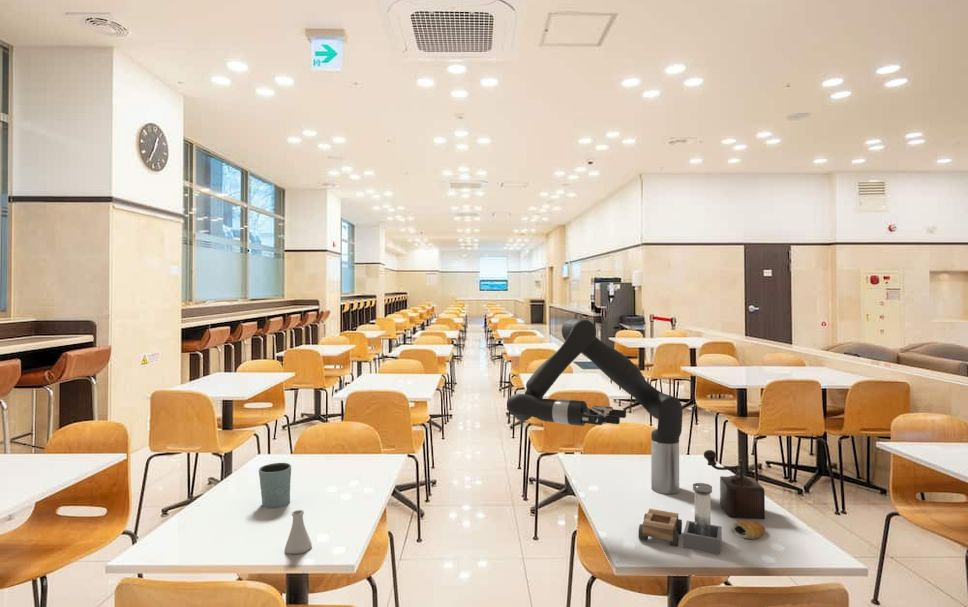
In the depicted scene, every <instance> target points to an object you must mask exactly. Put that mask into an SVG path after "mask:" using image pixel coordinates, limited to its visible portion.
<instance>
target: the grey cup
mask: <svg viewBox="0 0 968 607" xmlns="http://www.w3.org/2000/svg"><path fill="white" fill-rule="evenodd" d="M258 477H259V484H260V485H259V486H260V491H261V492H260V494H261V495H260V496H261V504H262V505H261V506H262V508H265V507H266V508H265V509H277V507H279V508H283V507H285V506H288V504H290V501H291V478H292V464H290V463H287V462H277V463H276V462H275V463H274V462H273V463H269V464H266V465H263V466H261V467H259V469H258Z"/></svg>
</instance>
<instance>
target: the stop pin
mask: <svg viewBox="0 0 968 607" xmlns="http://www.w3.org/2000/svg"><path fill="white" fill-rule="evenodd" d="M692 490H693V492H694V522H695V534H697V535H702V536H708V537H711V526H710V525H711V493H713V486H712V485H710V484H709V483H704V482H695V483H693V484H692Z"/></svg>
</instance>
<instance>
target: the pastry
mask: <svg viewBox="0 0 968 607" xmlns="http://www.w3.org/2000/svg"><path fill="white" fill-rule="evenodd" d="M730 530H731V532H732V534H734V535H736V536H738V537H740V538H741V537H742V538H744V539H747V540H756V539H759V538H761V537H762V536H763V535H765V531H766V528H765V526H764V525H763V524H761V523H759V522H758V521H753V520H748V519H740V520H736V521H735V522H734V523H733V525H732V526H731V527H730Z"/></svg>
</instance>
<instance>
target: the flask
mask: <svg viewBox="0 0 968 607" xmlns="http://www.w3.org/2000/svg"><path fill="white" fill-rule="evenodd" d="M304 513H305V511H304V509H296V510H293V511H291V516H292V524H291V528H290V530H289V535H288V538H287V540H286V544H285V547H284V553H285V554H289V555H290V554H291V555H296V554H304V553H306V552H308V551H309V550H310V549H312V548H313V547H312V546H313V545H312V541H311V538H310V536H309V533H308V531H307V529H306V526H305V522H304Z"/></svg>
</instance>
